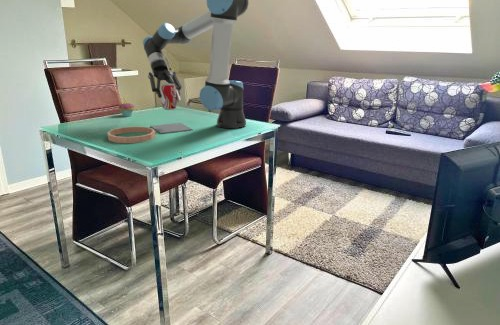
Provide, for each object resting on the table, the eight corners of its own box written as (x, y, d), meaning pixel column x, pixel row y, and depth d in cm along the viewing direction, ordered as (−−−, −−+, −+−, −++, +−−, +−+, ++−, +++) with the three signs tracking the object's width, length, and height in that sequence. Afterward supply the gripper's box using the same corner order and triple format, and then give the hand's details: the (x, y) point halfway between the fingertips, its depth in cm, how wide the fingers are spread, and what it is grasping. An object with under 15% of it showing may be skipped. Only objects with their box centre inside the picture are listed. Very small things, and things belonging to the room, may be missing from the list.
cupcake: (130, 117, 210) (128, 95, 206) (116, 116, 212) (114, 95, 208) (137, 114, 218) (135, 93, 214) (123, 113, 219) (122, 92, 216)
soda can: (169, 111, 180) (168, 85, 176) (158, 109, 184) (157, 84, 180) (179, 108, 186) (179, 84, 182) (169, 107, 189) (168, 82, 185)
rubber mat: (180, 123, 198) (180, 122, 198) (192, 130, 185) (192, 129, 185) (150, 127, 190) (150, 125, 190) (160, 134, 177) (160, 132, 177)
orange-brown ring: (161, 132, 179) (160, 127, 178) (144, 144, 160) (144, 138, 160) (120, 130, 181) (120, 125, 181) (99, 141, 163) (99, 136, 162)
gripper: (175, 68, 196) (189, 105, 189) (136, 69, 186) (150, 108, 178) (178, 58, 190) (193, 95, 183) (139, 59, 180) (153, 98, 172)
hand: (171, 101), depth 181 cm, fingers closed on soda can, 7 cm apart
